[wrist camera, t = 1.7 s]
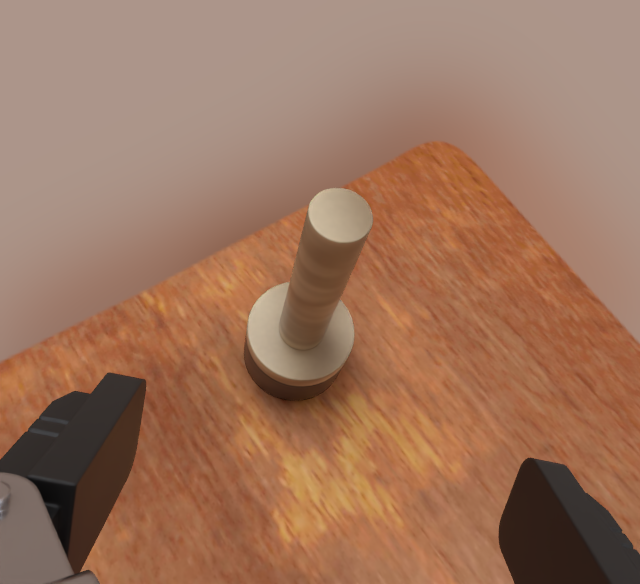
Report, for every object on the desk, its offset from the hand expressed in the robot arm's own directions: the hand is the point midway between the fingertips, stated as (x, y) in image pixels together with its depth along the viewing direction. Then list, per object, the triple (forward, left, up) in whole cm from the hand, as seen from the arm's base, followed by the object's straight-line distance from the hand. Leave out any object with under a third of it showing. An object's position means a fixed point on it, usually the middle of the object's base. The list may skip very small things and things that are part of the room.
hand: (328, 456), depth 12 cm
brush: (+5, +9, -19) cm, 22 cm away
